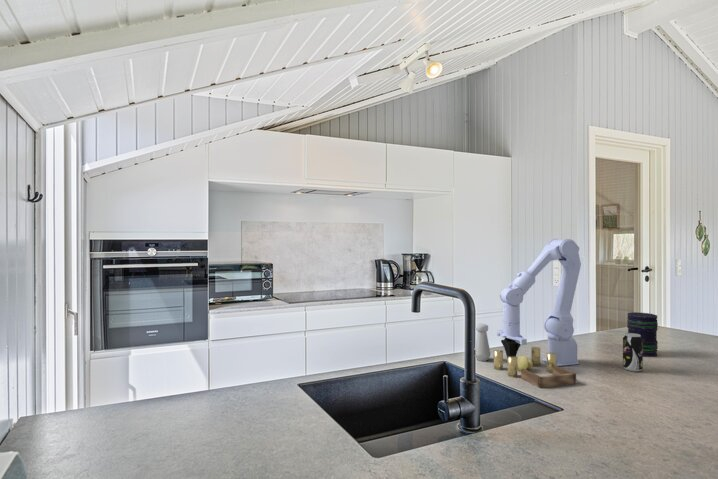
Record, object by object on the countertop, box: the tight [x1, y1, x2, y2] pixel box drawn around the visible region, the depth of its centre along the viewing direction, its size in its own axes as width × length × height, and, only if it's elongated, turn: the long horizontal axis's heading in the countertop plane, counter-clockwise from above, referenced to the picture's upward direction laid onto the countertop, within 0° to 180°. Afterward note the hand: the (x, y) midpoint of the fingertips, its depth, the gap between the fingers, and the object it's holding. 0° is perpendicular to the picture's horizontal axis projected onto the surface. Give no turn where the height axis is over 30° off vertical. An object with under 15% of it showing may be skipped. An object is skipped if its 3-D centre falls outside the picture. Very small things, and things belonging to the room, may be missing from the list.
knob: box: [517, 355, 533, 372], centre depth 149 cm, size 5×5×5 cm
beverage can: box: [622, 332, 644, 373], centre depth 148 cm, size 6×6×12 cm
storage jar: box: [626, 311, 659, 358], centre depth 168 cm, size 10×10×15 cm
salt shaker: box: [475, 323, 491, 362], centre depth 161 cm, size 6×6×13 cm
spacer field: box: [493, 346, 557, 378], centre depth 148 cm, size 18×11×6 cm, turn 106°
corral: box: [520, 366, 577, 389], centre depth 137 cm, size 13×9×3 cm
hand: (511, 360), depth 156 cm, fingers closed
